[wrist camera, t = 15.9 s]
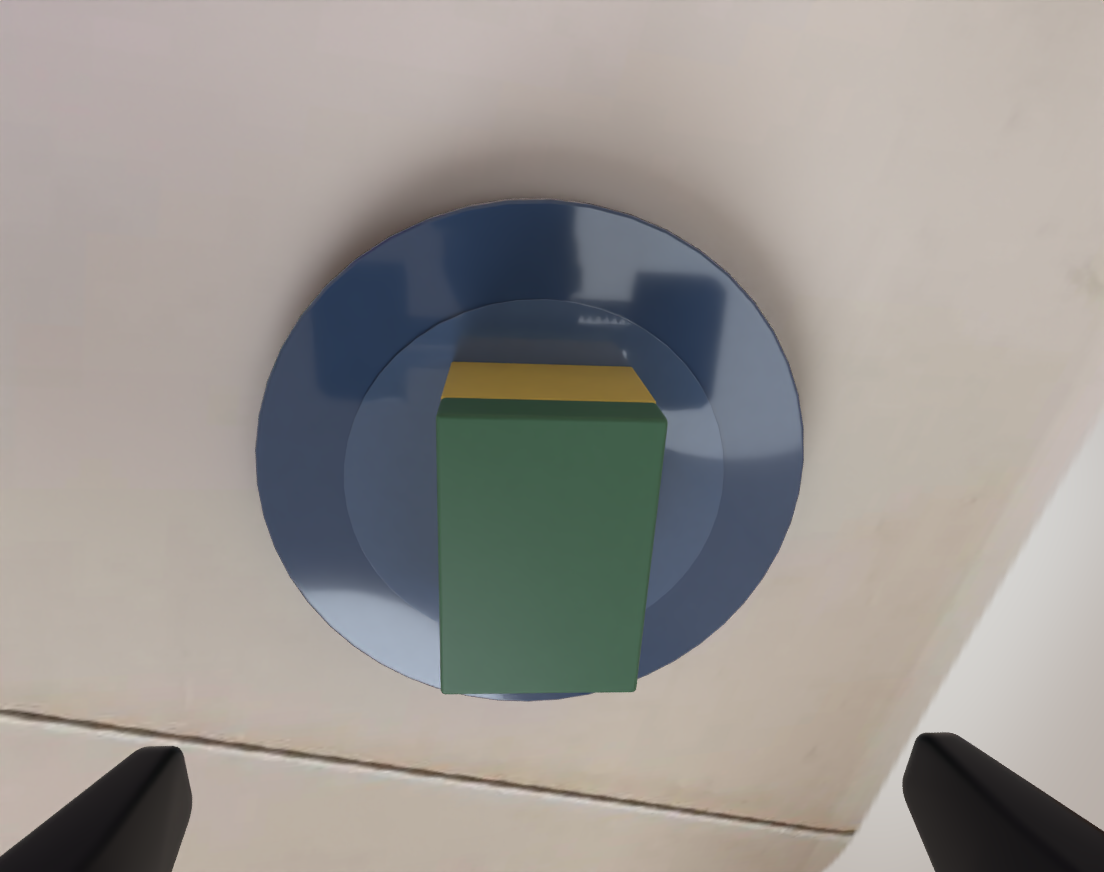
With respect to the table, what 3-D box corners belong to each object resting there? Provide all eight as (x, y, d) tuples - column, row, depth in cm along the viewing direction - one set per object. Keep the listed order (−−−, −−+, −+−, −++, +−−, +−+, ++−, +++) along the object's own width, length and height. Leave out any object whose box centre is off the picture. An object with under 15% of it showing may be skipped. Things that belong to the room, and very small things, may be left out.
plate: (743, 670, 19) (758, 701, 18) (297, 674, 18) (283, 708, 17) (831, 211, 15) (860, 214, 14) (239, 182, 14) (215, 182, 12)
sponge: (610, 593, 17) (636, 694, 13) (453, 593, 16) (440, 696, 13) (632, 366, 14) (669, 419, 11) (451, 361, 14) (434, 413, 11)
